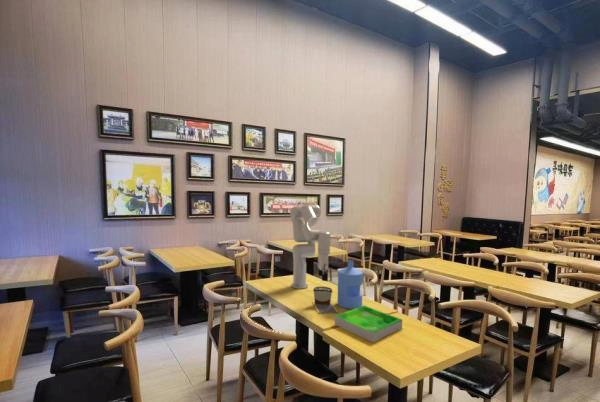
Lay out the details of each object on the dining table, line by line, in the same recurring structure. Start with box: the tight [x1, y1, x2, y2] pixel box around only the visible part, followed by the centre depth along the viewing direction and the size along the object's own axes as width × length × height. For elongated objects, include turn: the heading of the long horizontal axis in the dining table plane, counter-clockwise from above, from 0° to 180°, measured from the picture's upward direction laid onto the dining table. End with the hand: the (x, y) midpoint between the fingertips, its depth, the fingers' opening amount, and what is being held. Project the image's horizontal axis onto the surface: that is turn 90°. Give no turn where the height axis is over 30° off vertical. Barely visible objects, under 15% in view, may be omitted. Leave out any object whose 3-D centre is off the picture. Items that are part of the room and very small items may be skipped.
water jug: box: [337, 259, 364, 310], centre depth 192 cm, size 16×16×28 cm
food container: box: [312, 286, 333, 306], centre depth 192 cm, size 12×6×10 cm, turn 85°
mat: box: [311, 301, 339, 315], centre depth 187 cm, size 18×12×1 cm, turn 9°
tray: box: [334, 305, 403, 343], centre depth 162 cm, size 25×25×5 cm
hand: (322, 278), depth 192 cm, fingers open, 9 cm apart
